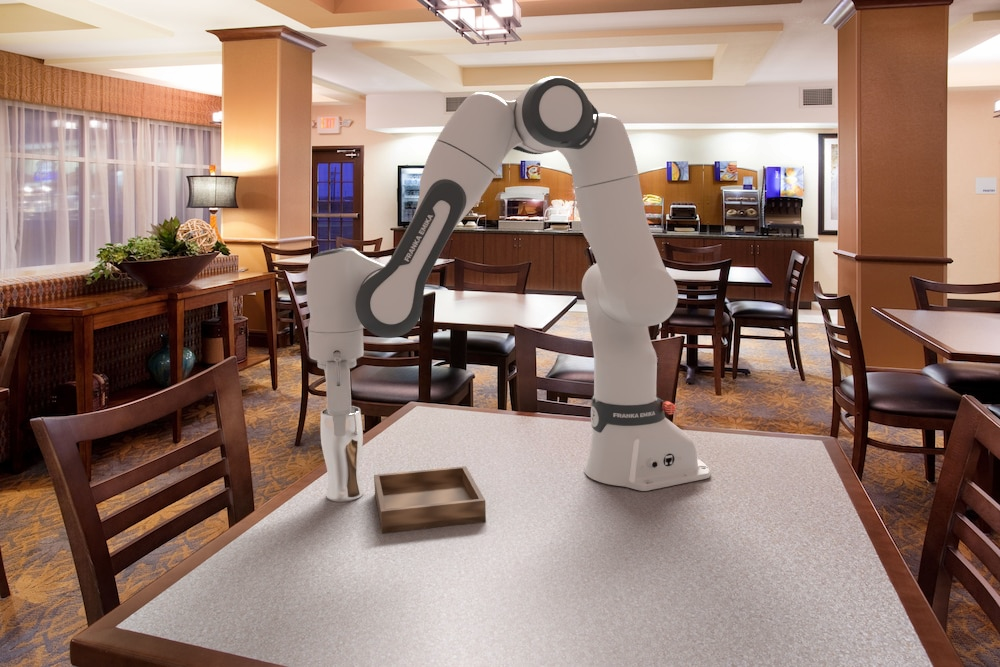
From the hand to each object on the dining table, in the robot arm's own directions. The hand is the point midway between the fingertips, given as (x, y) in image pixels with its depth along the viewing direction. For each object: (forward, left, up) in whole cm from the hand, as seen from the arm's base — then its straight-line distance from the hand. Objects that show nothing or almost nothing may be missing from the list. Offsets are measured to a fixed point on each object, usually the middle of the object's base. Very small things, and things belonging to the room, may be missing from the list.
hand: (339, 426), depth 122 cm
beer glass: (0, 0, -12) cm, 12 cm away
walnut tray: (-13, +9, -12) cm, 20 cm away
